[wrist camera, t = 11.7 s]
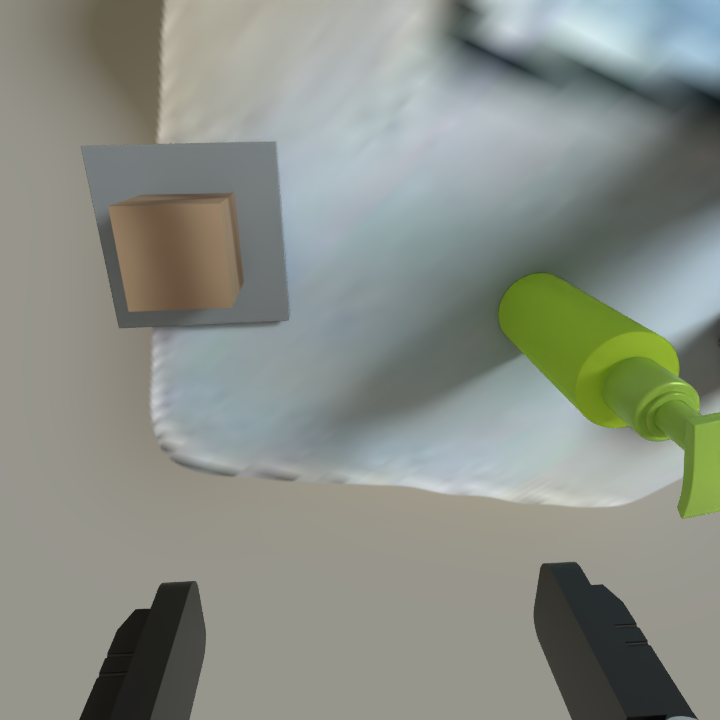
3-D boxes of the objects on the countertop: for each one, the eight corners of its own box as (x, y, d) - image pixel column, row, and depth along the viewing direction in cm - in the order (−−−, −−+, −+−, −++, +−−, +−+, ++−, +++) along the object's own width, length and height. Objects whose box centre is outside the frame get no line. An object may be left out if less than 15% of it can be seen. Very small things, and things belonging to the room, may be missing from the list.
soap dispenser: (501, 363, 43) (645, 535, 24) (495, 281, 40) (652, 405, 22) (573, 349, 43) (770, 510, 24) (571, 265, 40) (793, 376, 22)
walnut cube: (234, 192, 35) (220, 203, 29) (243, 282, 37) (231, 307, 32) (140, 194, 34) (108, 206, 29) (156, 285, 37) (128, 311, 31)
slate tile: (276, 141, 35) (275, 141, 34) (289, 315, 40) (288, 320, 38) (88, 145, 34) (80, 146, 33) (124, 322, 39) (119, 328, 38)
